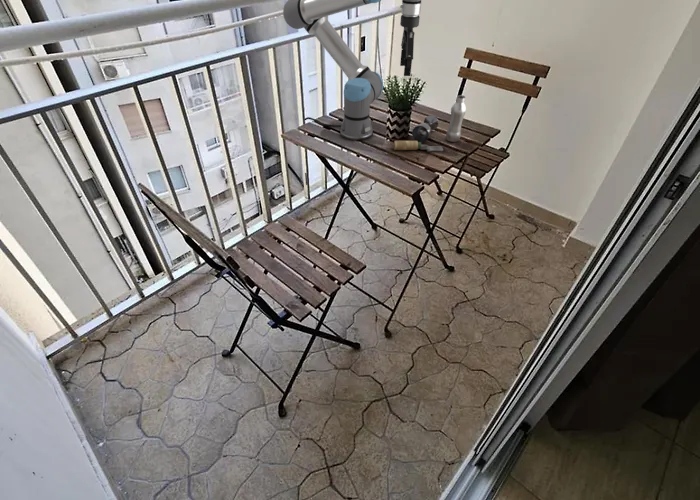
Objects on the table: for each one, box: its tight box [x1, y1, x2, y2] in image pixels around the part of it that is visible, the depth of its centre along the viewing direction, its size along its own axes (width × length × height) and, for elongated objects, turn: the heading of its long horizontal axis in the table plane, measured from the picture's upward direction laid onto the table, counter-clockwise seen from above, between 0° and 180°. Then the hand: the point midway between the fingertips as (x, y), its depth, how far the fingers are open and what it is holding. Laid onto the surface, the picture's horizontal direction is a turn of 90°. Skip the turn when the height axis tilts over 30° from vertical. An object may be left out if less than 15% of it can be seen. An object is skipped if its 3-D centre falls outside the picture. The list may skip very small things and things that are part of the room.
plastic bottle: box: [445, 94, 467, 143], centre depth 172 cm, size 6×7×20 cm
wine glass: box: [411, 114, 439, 144], centre depth 179 cm, size 8×8×15 cm
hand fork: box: [393, 140, 444, 152], centre depth 171 cm, size 22×4×4 cm, turn 91°
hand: (405, 70), depth 170 cm, fingers open, 13 cm apart
